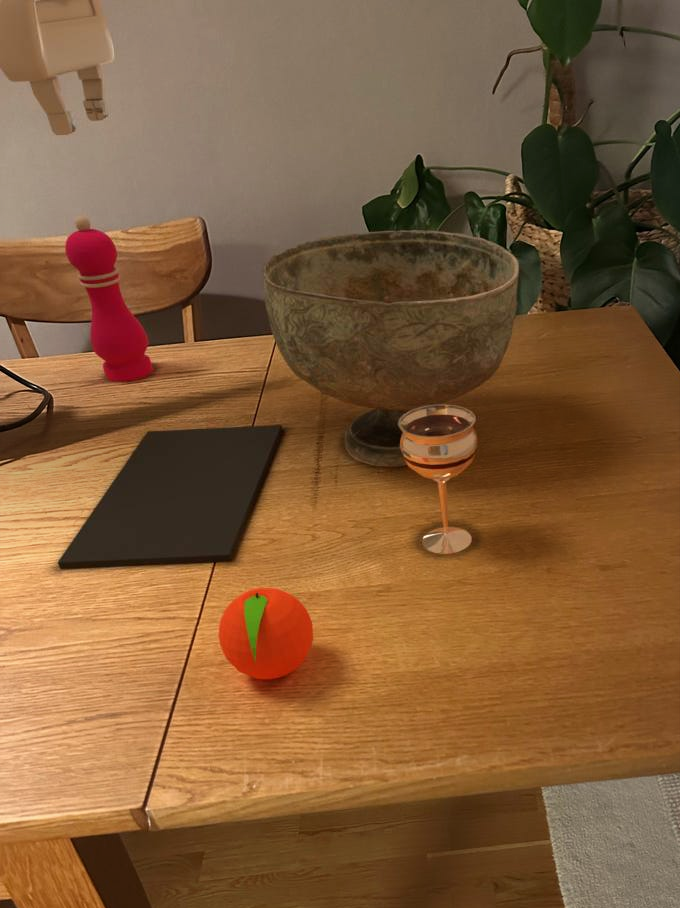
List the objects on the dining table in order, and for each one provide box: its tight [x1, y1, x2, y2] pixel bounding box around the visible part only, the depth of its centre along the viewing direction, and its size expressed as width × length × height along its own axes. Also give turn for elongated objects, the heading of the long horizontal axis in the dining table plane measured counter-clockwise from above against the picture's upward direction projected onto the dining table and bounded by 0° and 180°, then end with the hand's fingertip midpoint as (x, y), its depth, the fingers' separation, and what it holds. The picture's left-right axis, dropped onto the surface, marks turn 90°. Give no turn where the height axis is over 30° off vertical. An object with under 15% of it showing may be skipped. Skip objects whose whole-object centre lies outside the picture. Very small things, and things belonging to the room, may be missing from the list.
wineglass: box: [398, 403, 478, 555], centre depth 75 cm, size 7×7×12 cm
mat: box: [57, 424, 284, 570], centre depth 88 cm, size 16×28×1 cm, turn 1°
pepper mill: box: [64, 215, 154, 383], centre depth 110 cm, size 7×7×20 cm
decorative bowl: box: [261, 229, 520, 468], centre depth 90 cm, size 26×26×20 cm
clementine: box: [218, 587, 314, 680], centre depth 63 cm, size 8×7×7 cm
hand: (83, 126), depth 84 cm, fingers open, 8 cm apart
